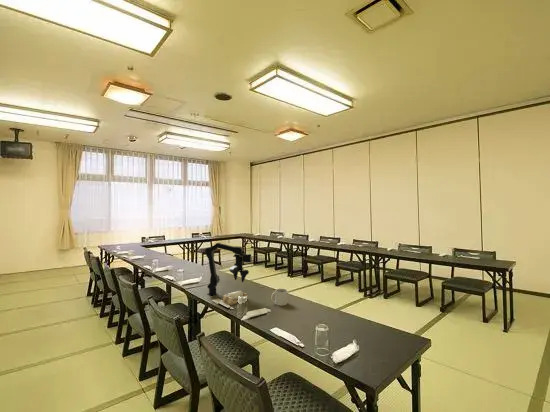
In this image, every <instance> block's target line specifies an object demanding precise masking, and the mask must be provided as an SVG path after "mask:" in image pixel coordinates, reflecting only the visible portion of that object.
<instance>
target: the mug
mask: <svg viewBox="0 0 550 412" xmlns="http://www.w3.org/2000/svg"><path fill="white" fill-rule="evenodd" d="M274 295H275V298H274V299H275V300H274V299H273V296H274ZM270 298H271V301H272V302H273V303H275V305H277V306H280V307H282V306H286V305H288V289H285V288H277V289H275V291H274V292H272V294H271V297H270Z"/></svg>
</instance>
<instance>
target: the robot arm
mask: <svg viewBox="0 0 550 412" xmlns="http://www.w3.org/2000/svg"><path fill="white" fill-rule="evenodd" d="M217 249H220V250H221V249H222V250H225V251H229V252H231V253H234V255H233V257H234V258H235V263H234V264H233V265H232V266H231V267H229V269H228V270H229V272H230V273H231V274H232V275H233V277H234V280H235V281H237V280H238V274H239V275H240V278H241V283H244V281H245V279H246V276H247V275H248V274H250V271H249V270H248V269H244V263H250V264H251V263H252V261H253V257H252V253H248V254H247V253H246V252H245V251H244V248H243V246H234V245H229V244H224V243H222V242H216V243H215V244H213V245H212V246H209V247H207V248H205V249H204V251H205V255H206V257H207V260H208V264H209V265H208V266H209V271H210V279H209V283H208V285H207V289H208V293H207V295H208V296H211V297H213V296H217V295H218V293H217V286H218V285H219V283H220V281H221V279H220V275H218V274H217V270H216V263H215V251H216V250H217Z"/></svg>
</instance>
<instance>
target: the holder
mask: <svg viewBox="0 0 550 412" xmlns="http://www.w3.org/2000/svg"><path fill="white" fill-rule="evenodd" d="M242 293H243V296H247V297H248V293H246V292H243V291H242ZM237 300H238V299H237ZM237 300H233V298H231V297H228V296H226V295H225V294H223V295H222V302H223V301H224V302H223V303H225V302H226V303H225V304H227V303H228V304H227V305H230V306H232V305H236V304H238V303H237Z"/></svg>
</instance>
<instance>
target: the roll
mask: <svg viewBox="0 0 550 412" xmlns="http://www.w3.org/2000/svg"><path fill="white" fill-rule="evenodd" d="M232 292H233V293H232ZM232 292H229V294H228V293H227V294H228V297H231V298H233V300H237V299H238V296H243V293H244V292H243V291H242V290H237V291H232ZM242 292H243V293H242Z"/></svg>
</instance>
